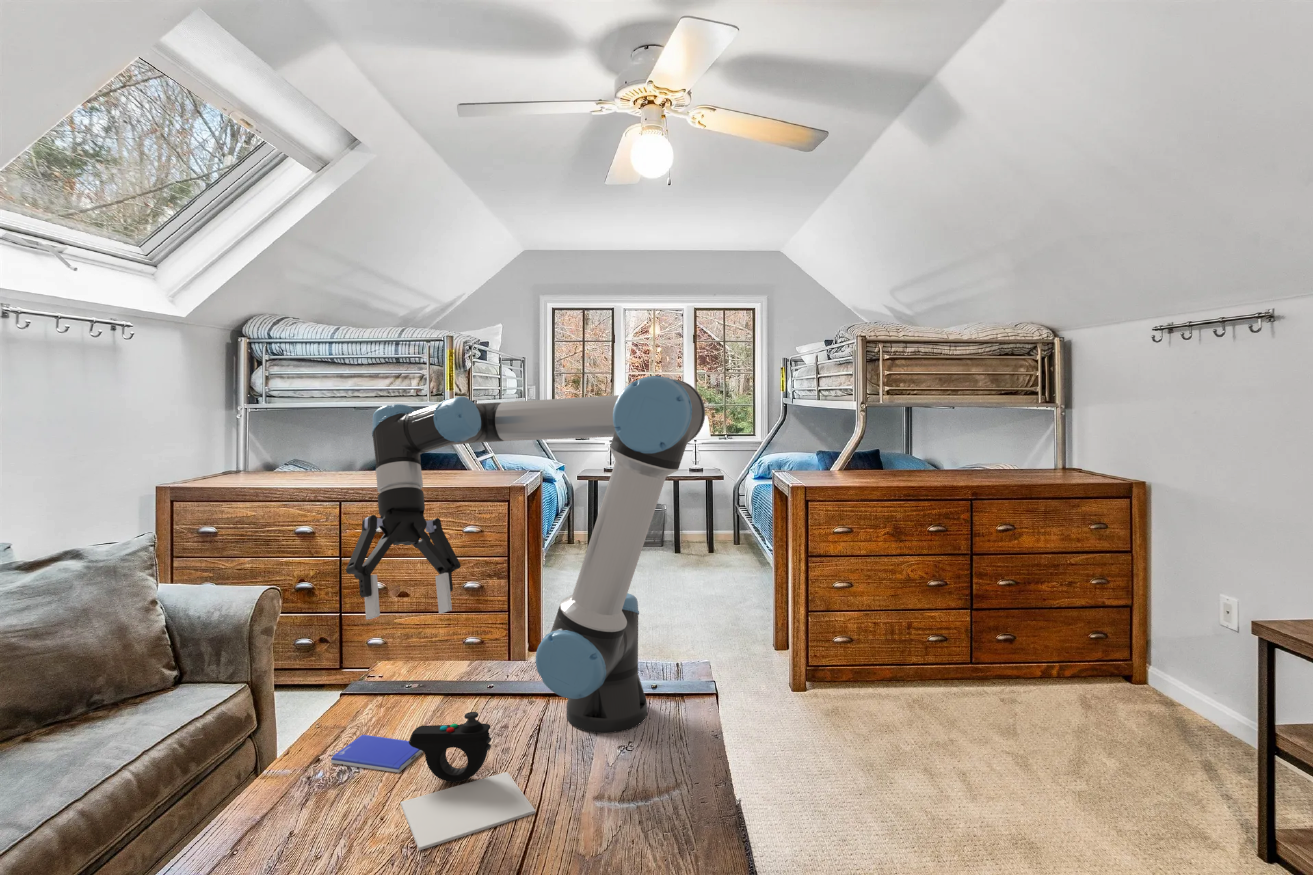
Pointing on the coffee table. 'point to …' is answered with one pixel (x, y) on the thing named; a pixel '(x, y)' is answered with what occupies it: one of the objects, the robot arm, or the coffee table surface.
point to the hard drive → (377, 753)
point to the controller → (463, 736)
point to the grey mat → (465, 809)
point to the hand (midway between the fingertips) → (411, 614)
